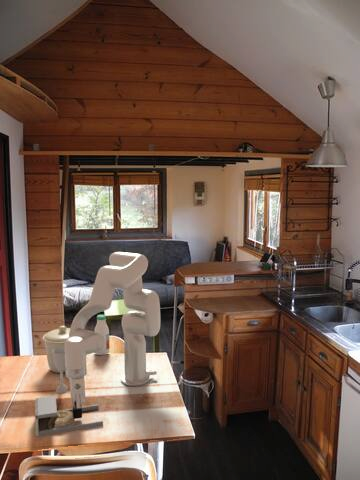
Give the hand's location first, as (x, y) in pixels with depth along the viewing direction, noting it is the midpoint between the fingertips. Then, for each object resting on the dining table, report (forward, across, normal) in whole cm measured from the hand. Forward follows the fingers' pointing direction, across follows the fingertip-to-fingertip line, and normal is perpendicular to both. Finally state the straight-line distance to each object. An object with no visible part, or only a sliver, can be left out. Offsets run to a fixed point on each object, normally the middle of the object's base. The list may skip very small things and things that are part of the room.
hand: (77, 417), depth 162 cm
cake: (+2, -1, +6) cm, 6 cm away
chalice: (+1, +26, +4) cm, 26 cm away
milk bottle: (+2, +62, -18) cm, 64 cm away
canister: (+1, +48, +2) cm, 48 cm away
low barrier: (+1, 0, +3) cm, 3 cm away
